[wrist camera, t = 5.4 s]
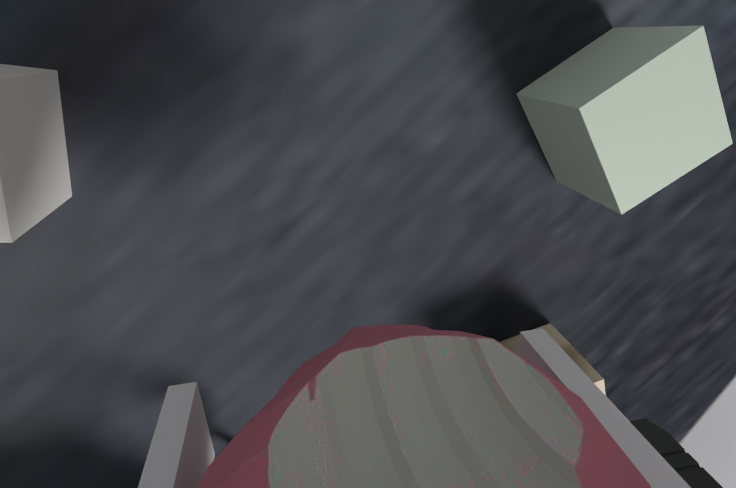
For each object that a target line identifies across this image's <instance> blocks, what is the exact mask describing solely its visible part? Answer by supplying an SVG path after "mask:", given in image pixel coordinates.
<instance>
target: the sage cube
mask: <svg viewBox="0 0 736 488" xmlns="http://www.w3.org/2000/svg"><path fill="white" fill-rule="evenodd" d="M516 94H517V96H518V98H519V101H520V103H521V105H522V107H523V109H524V112H525V114H526V116H527V118H528V120H529V122H530V125H531V127H532V129H533V131H534V133H535V135H536V138H537V140H538V142H539V144H540V146H541V149H542V151H543V153H544V155H545V157H546V159H547V162H548V164H549V166H550V168H551V170H552V172H553V175H554V177H555V179H556V181H558V182H560V183H562V184H563V185H565V186H567V187H569V188H571V189H573V190H575V191H577V192H579V193H581V194H583V195H585V196H587V197H589V198H591V199H592V200H594V201H596V202H598V203H600V204H602V205H604V206H606V207H608V208H610V209H612V210H614V211H616V212H618V213H620V214H621V215H622V214H623V213H625V212H626V211H628V210H629V209H631V208H633V207H634V206H636V205H637V204H639V203H640V202H642V201H644V200H645V199H647V198H648V197H650V196H651V195H653V194H655V193H656V192H658V191H659V190H661V189H662V188H664V187H665V186H667V185H669V184H670V183H672V182H673V181H675V180H676V179H678V178H680V177H681V176H683V175H684V174H686V173H687V172H689V171H690V170H692V169H694V168H695V167H697V166H698V165H700V164H701V163H703V162H705V161H706V160H708V159H709V158H711V157H712V156H714V155H715V154H717V153H719V152H720V151H722V150H723V149H725V148H726V147H728V146H730V145H731V144H733V143H732V139H731V135H730V131H729V127H728V123H727V119H726V115H725V111H724V107H723V103H722V99H721V95H720V91H719V87H718V83H717V79H716V74H715V70H714V66H713V62H712V58H711V54H710V50H709V46H708V42H707V38H706V34H705V30H704V26H669V27H631V28H612V29H611V30H609V31H608V32H606V33H605V34H603V35H602V36H600V37H599V38H597V39H596V40H595V41H593V42H592V43H590V44H589V45H587V46H586V47H584V48H583V49H581V50H580V51H578V52H577V53H575V54H574V55H572V56H571V57H569V58H568V59H567V60H565V61H564V62H562V63H561V64H559V65H558V66H556V67H555V68H553V69H552V70H550V71H549V72H547V73H546V74H544V75H543V76H541V77H540V78H539V79H537V80H536V81H534V82H533V83H531V84H530V85H528V86H527V87H525V88H524V89H522V90H521V91H519V92H518V93H516Z"/></svg>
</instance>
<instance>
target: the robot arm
mask: <svg viewBox="0 0 736 488" xmlns="http://www.w3.org/2000/svg"><path fill="white" fill-rule="evenodd" d="M518 355H519V356H521V357H523V358H524V359H526V360H527V361H529V362H530V363H532V364H533V365H535V366H536V367H538V368H540V369H541V370H543V371H544V372H545V373H547V374H548V375H550V376H551V377H553V378H554V379H555V380H557V381H558V382H560V383H561V384H562V385H564V386H565V387H567V388H568V389H570V390H571V391H572V392H574V393H575V394H577V395H578V396H580V397H581V398H582V400H583V401H584V402H585V403H586V405H587V406H588V407H589V408H590V410H591V411H592V412H593V414H594V415H595V416H596V417H597V419H598V420H599V421H600V423H601V424H602V425H603V426H604V428H605V429H606V430H607V432H608V433H609V434H610V435H611V437H612V438H613V439H614V440H615V442H616V443H617V444H618V445H619V447H620V448H621V449H622V450H623V452H624V453H625V454H626V455H627V457H628V458H629V459H630V460H631V462H632V463H633V464H634V465H635V467H636V468H637V469H638V470H639V472H640V473H641V474H642V475H643V477H644V478H645V479H646V480H647V482H648V483H649V484H650V485H651V488H722V486H721V485H720V484H719V483H718V482H716V480H714V478H713V477H712V476H711V475H710V474H709V473H708V472H706V471H705V470H704V468H701V467H700V466H699V464H698V463H697V461H696V460H695V459H694V458H693V457H692V456H691V455H689V454H688V453H686V452H685V450H684V448H682V446H681V445H680V444H679V443H678V442H677V441H676V440H675V439H674V438H673V437H672V436H671V435H670V434H669V433H668V432H666V431H665V430H663V429H661V428H660V427H658V426H656V425H655V424H653V423H652V422H650V421H648V420H647V419H640V420H634V421H629V420H628V419H627V418H626V417H625V416H624V415H623V414H622V413H621V412H620V411H619V410H618V409H617V407H616V406H615V405H614V404H613V403H612V402H611V401H610V400H609V399H608V398H607V397H606V396H605V395H604V393H603V392H602V391H601V390H600V389H599V388H598V387H597V386H596V385H595V384H594V383H593V382H592V381H591V379H590V378H589V377H588V376H587V375H586V374H585V373H584V372H583V371H582V370H581V369H580V368H579V367H578V365H577V364H576V363H575V362H574V361H573V360H572V359H571V358H570V357H569V356H568V355H567V354H566V353H565V351H564V350H563V349H562V348H561V347H560V346H559V345H558V344H557V343H556V342H555V341H554V340H553V339H552V337H551V336H550V335H549V334H548V333H547V332H546V331H545V330H544V329H543V328H541V329H534V330H528V331H521V332H520V337H519V347H518ZM214 455H215V453H214V449H213V445H212V441H211V437H210V433H209V429H208V425H207V421H206V417H205V413H204V408H203V404H202V400H201V396H200V392H199V388H198V384H197V382H192V383H186V384H179V385H173V386H168V389H167V392H166V396H165V399H164V402H163V406H162V409H161V412H160V416H159V419H158V422H157V426H156V429H155V432H154V436H153V439H152V442H151V445H150V449H149V452H148V455H147V459H146V462H145V465H144V469H143V472H142V475H141V479H140V482H139V485H138V488H198V487H199V485H200V483H201V480H202V478H203V476H204V474H205V471H206V469H207V468H208V466H209V465H210V464H211V463H212V462H213V461H214Z"/></svg>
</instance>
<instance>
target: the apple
mask: <svg viewBox="0 0 736 488" xmlns="http://www.w3.org/2000/svg"><path fill="white" fill-rule="evenodd" d="M198 488H651V485H650V484H649V483H648V482H647V480H646V479H645V478H644V477H643V475H642V474H641V473H640V472H639V470H638V469H637V468H636V467H635V465H634V464H633V463H632V462H631V460H630V459H629V458H628V457H627V455H626V454H625V453H624V452H623V450H622V449H621V448H620V447H619V445H618V444H617V443H616V442H615V440H614V439H613V438H612V437H611V435H610V434H609V433H608V432H607V430H606V429H605V428H604V426H603V425H602V424H601V423H600V421H599V420H598V419H597V417H596V416H595V415H594V414H593V412H592V411H591V410H590V408H589V407H588V406H587V405H586V403H585V402H584V401H583V400H582V398H581V397H580V396H578V395H577V394H575V393H574V392H572V391H571V390H570V389H568V388H567V387H565V386H564V385H562V384H561V383H560V382H558V381H557V380H555V379H554V378H553V377H551V376H550V375H548V374H547V373H545V372H544V371H543V370H541V369H540V368H538V367H536V366H535V365H533V364H532V363H530V362H529V361H527V360H526V359H524V358H523V357H521V356H519V355H518V354H516V353H515V352H513V351H512V350H510V349H509V348H507V347H506V346H504V345H502V344H501V343H499V342H498V341H496V340H495V339H493V338H489V337H484V336H480V335H475V334H471V333H466V332H462V331H448V330H433V329H430V328H428V327H425V326H420V325H378V326H366V327H354V328H353V329H352V330H351V331H350V332H348V333H347V334H346V335H345V336H344V337H342V338H341V339H340V340H339V341H338V342H336V343H335V344H334V345H333V346H332V347H330V348H329V349H328V350H326V351H324V352H322V353H321V354H319V355H317V356H315V357H313V358H312V359H310V360H308V361H306V362H304V363H303V364H302V365H301V367H300V368H299V369H298V370H297V371H296V372H295V373H294V374H293V375H292V376H291V377H290V378H289V379H288V380H287V381H286V383H285V384H284V385H283V386H282V388H281V389H280V390H279V392H278V393H277V394H276V396H275V397H274V398H273V399H272V400H271V401H270V402H268V403H267V404H266V405H265V406H264V407H263V408H262V409H261V410H260V411H259V412H258V413H257V414H256V415H255V416H254V417H253V418H251V419H250V420H249V421H248V422H247V423H246V424H245V425H244V426H243V427H242V428H241V430H240V431H239V432H238V433H237V434H236V435H235V436H234V438H233V439H232V440H231V441H230V442H229V443H228V445H227V446H226V447H225V448H224V449H223V450H222V451H221V453H220V454H219V455H218V456H217V457H216V458H215V460H214V461H213V462H212V463H211V464H210V465H209V466H208V468H207V469H206V471H205V474H204V476H203V478H202V480H201V483H200V485H199V487H198Z"/></svg>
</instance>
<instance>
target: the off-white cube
mask: <svg viewBox="0 0 736 488" xmlns="http://www.w3.org/2000/svg"><path fill="white" fill-rule="evenodd" d="M70 197H72V192H71V183H70V174H69V166H68V157H67V149H66V140H65V132H64V123H63V115H62V106H61V98H60V89H59V81H58V72H57V70H50V69H41V68H32V67H24V66H15V65H6V64H0V242H3V243H12V242H14V241H15V240H16V239H17V238H19V237H20V236H21V235H23V234H24V233H25V232H27V231H28V230H29V229H30V228H32V227H33V226H34V225H36V224H37V223H38V222H39V221H41V220H42V219H43V218H45V217H46V216H47V215H48V214H50V213H51V212H52V211H54V210H55V209H56V208H57V207H59V206H60V205H61V204H63V203H64V202H65V201H66V200H68V199H69V198H70Z"/></svg>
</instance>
